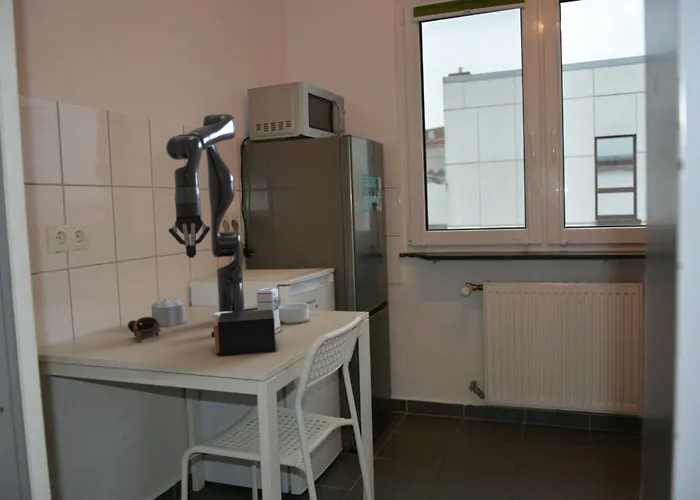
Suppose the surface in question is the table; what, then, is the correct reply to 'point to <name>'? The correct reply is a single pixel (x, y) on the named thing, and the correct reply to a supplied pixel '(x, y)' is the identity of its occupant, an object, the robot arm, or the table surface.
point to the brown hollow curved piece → (144, 328)
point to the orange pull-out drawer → (216, 335)
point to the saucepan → (294, 312)
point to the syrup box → (269, 304)
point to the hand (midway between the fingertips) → (191, 257)
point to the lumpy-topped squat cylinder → (168, 312)
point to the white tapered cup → (218, 315)
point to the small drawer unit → (246, 332)
